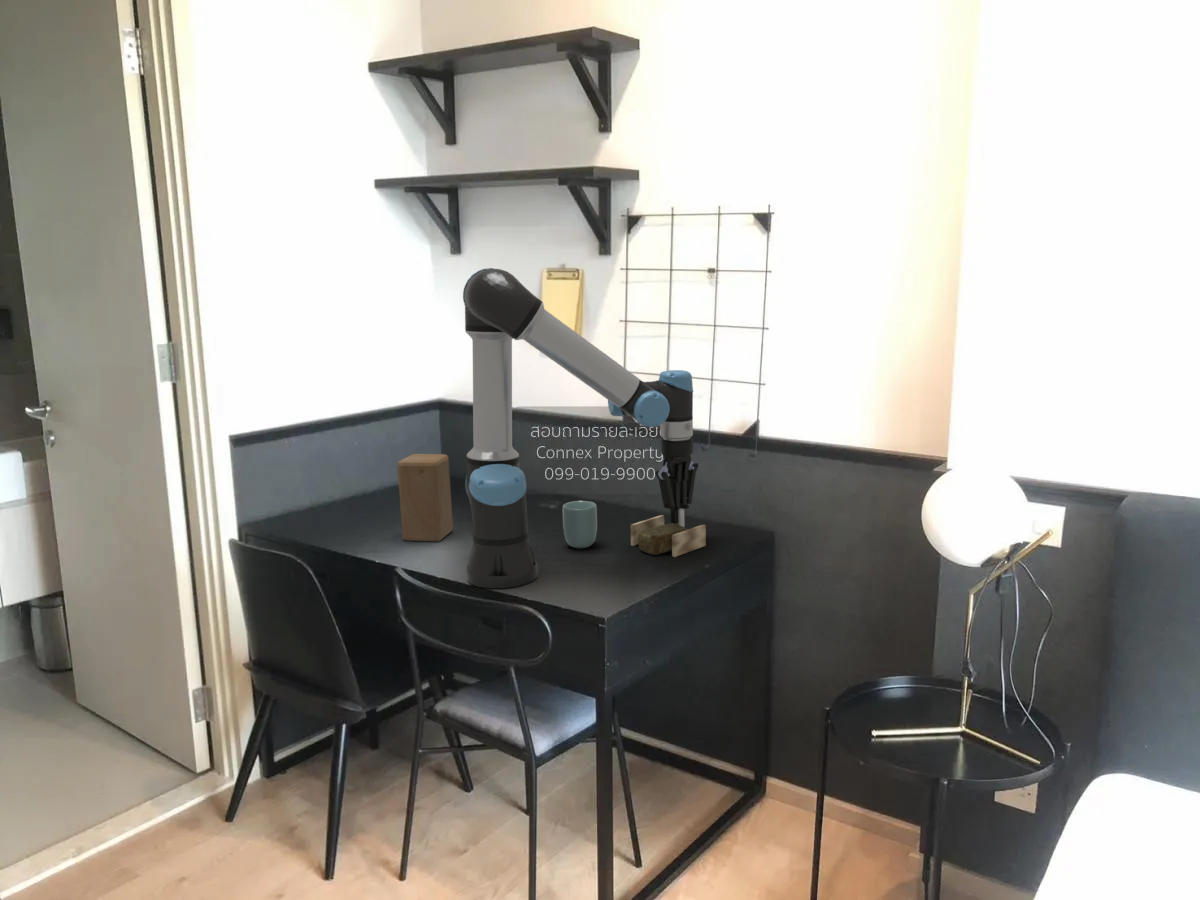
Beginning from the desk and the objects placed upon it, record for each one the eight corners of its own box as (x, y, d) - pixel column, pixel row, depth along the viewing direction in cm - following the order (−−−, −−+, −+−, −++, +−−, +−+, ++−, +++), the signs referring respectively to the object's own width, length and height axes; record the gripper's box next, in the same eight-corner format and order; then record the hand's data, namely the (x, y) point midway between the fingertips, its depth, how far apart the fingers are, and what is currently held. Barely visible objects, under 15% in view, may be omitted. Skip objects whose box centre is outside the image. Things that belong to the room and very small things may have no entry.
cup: (579, 539, 222) (577, 499, 220) (604, 544, 217) (602, 503, 215) (557, 547, 216) (555, 506, 214) (582, 553, 211) (581, 511, 209)
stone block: (636, 551, 211) (636, 530, 210) (672, 541, 218) (672, 521, 217) (653, 557, 207) (653, 536, 206) (689, 546, 214) (689, 525, 213)
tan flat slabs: (674, 557, 206) (674, 535, 205) (630, 545, 216) (630, 524, 215) (705, 545, 214) (705, 525, 213) (662, 534, 223) (661, 514, 222)
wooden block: (439, 542, 222) (434, 462, 218) (401, 541, 224) (395, 461, 220) (454, 531, 232) (449, 453, 228) (417, 529, 234) (411, 452, 230)
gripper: (670, 444, 205) (672, 544, 210) (707, 435, 214) (707, 532, 219) (646, 440, 210) (648, 538, 215) (682, 431, 219) (683, 526, 224)
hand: (678, 535), depth 217 cm, fingers closed
